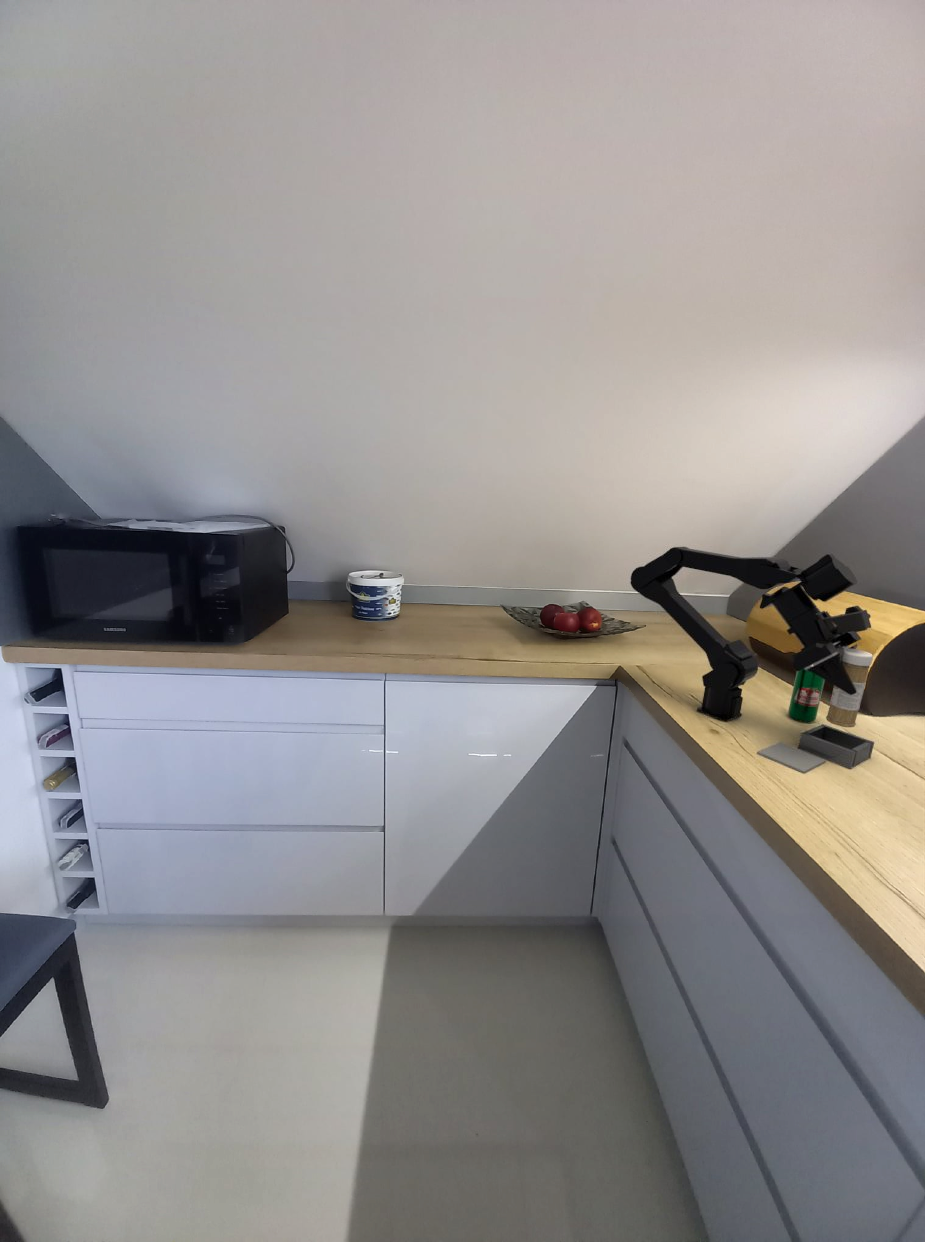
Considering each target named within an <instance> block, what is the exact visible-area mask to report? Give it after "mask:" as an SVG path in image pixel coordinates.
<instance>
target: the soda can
mask: <svg viewBox="0 0 925 1242" xmlns="http://www.w3.org/2000/svg"><path fill="white" fill-rule="evenodd" d="M813 666H814V665H813V664H812V665H810V666H808V667H806V668H804V669H802V670H800V671H797V670H796V674H795V679H794V683H793V687H792V693H791V695H790V696H791V698H790V702H789V706H788V711H787V715H788V716H789V717H790V718H791V719H793V720H794V721H797V722H800V723H807V724H808V723H813V722H815V721H816V720H817V717H818V712H819V707H820V704H821V703H820V701H821V698H822V693H823V690H824V685H825V681H826V680H825V679H823V678H821V677H819V676H818V675H816V674H814V673H812V672H808V671H807V669H809V668H811V667H813Z"/></svg>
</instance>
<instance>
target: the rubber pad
mask: <svg viewBox="0 0 925 1242" xmlns="http://www.w3.org/2000/svg"><path fill="white" fill-rule="evenodd" d="M756 754H757V755H759V756H761V757H764V758H767V759H769V760H771V761H773V762H776V763H778V764H780V765H783V766H785V767H787V768H791V769H792V770H794V771H797V772H799V773H802V774H806V773H807V772H810V771H813V769H816V768H818V767H820V766H821V765H823V764H825V763H827V760H826V759H823V758H821V757H818V756H816V755H813V754H811V753H808V752H806V751H803V750H801V749H798V747H794V746H791V745H789V744H787V743H784V742H781V741H779V742H777V743H774V744H771V745H769V746H767V747H765V748H762V749H760V750H758V751H757V752H756Z"/></svg>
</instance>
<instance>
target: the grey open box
mask: <svg viewBox="0 0 925 1242" xmlns="http://www.w3.org/2000/svg"><path fill="white" fill-rule="evenodd" d="M798 741H799V743H798V746H797V749H799V750H802V751H804V752H807V753H809V754H812V755H814V756H817V757H819V758H822V759H825V760H826V761H829V762H831V763H833V764H836V765H839V766H841V767H844V768H847V769H849V770H851V769H852V768H854V767H856V766H858V765H860V764H861V763H863V762H865V761H867V760H868V759H871V757H872V754H873V750H874V745H875V741H872V740H871V739H870V740H869V739H868V738H864V737H861V736H858V735H856V734H852V733H851V732H850V733H849V732H846V731H844V730H840V729H838V728H836V727H833V726H831V725H827V724H823V723H822V724H819V725H818V726H814V727H813V728H811V729H808V730H806V731H804V732H801V733H800V736H799V740H798Z"/></svg>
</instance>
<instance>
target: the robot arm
mask: <svg viewBox="0 0 925 1242" xmlns="http://www.w3.org/2000/svg"><path fill="white" fill-rule="evenodd" d="M682 568H688V569H692V570H697V571H703V572H708V573H712V574H718V575H723V576H729V577H731V578H734V579H737V580H738V581H740V582H741V583H743V584H745V585H749V586H751V587H754V588H756V589H759V590H768V589H773V588H778V587H781V588H779V589H777V590H775V591H774V592H773V593H768V592H767V593H764V594H761V602H760V604H759V609H760V610H761V609H762V610H763V609H766V608H770V607H771V606H772V607H774V608H775V610H776V612H777V613H778V614H779V615H780V617H781V618H782V620H783V621H784V623H785V624H786V625H787V626H788V629H787V630H786V632H787V633H788V634H789V635H790V636H791V635H794V636H795V637H796V639H797V640H798V641H799V643H800V644H801V646H802V648H801V649H800V651H798V652H797V653H794V654H792V656H791V660H790V661H791V664H792V666H793V667H794V668H795V670H796V672H797V671H800V670H802V669H804V668H806V667H808V666H810V665H812V664H813V665H814V666H813V667H811V668H809V669H807V671H808V672H812V673H814V674H816V675H818V676H819V677H821V678H823V679H825V681H826V682H828V683H830V684H831V685H833V686H834V685H835V686H836V687H838V688H840V689H841V690H843V691H845V692H846V693H848V694H850V695H853V694H855V693H856V692H857V691H856V689H855V687H854V685H853V683H852V681H851V679H850V677H849V675H848V673H847V672H846V670H845V668H844V666H843V664H842V660H843V655H844V651H843V652H842V650H843V649H857V648H858V643H857V642H859V641H860V640H862V637H861V636H860V635H859V634H858V633H859V632H865V631H867V630H868V629H871V628H872V624H871V621H870V618H871V617H872V616H871V614H870V613H868V610H867V609H862V607H860V606H859V605H852V606H849V607H847V608H845V612H844V613H843V614H838V615H833V616H832V615H830V613H829V612H828V611H825V610H822V611H821V610H820V609H819V608H818V606H817V604H816V603H814V601H815V602H816V601H818V600H820V601H822V602H824V603H827V602H828V601H830V600H832V599H833V598H835V597H836V596H838V595H840V594H842V593H844V592H845V591H847V590H849V589H851V588H852V587H854V586H856V585H857V584H858V580H857V577H856V576H855V574H854V573H853V571H852V569H850V567H849V566H846V565H845V564H844V563H843V562H842V561H840V559H838V558H836V557H835V555H834V554H832V553H826V554H825V555H823V557H821V558H820V559H819V560H818V561H817V562H815V563H813V564H812V565H810V566H808V567H807V568H805V569H803V568H799V567H797V566H793V565H791V564H790V563H789V561H788V560H787V559H785V558H783V557H779V556H771V557H770V556H761V557H760V556H757V557H755V556H753V557H740V556H734V555H728V554H721V553H716V552H710V551H704V550H699V549H693V548H689V547H687V546H674V547H671V548H669V550H667V551H666V552H665V553H663V554H662V555H659V556H658V557H656V558H654V559H653V560H651V561H649V562H647V563H646V564H645V565H644V566H643V565H642V566H638V567H636V568H634V570H633V571H632V573H631V575H630V582H629V583H630V585H631V587H632V589H633V590H634V591H635V592H637V593H638V594H639V595H641V596H643V597H644V598H645V599H646V600H649V601H651V602H653V603H656V604H657V605H659V606H660V607H661V608H662V609H663V610H664V611H665V612H666V613H667V614H668V615H669V616H670V617H671V618H672V619H673V620H674V621H675V622H676V624H678V626H680V628H681V629H682V630H683V631H684V632H685V633H686V634H687V635H688V636H689V637H690V638H691V639H692V640H693V641H694V642H695V643H696V644H697V645H698V646H699V648H700V649H701V650H703V652H704V653H705V655H706V658H707V659H708V663H709V666H710V668H711V669H712V670H710V671H709V672H707V673H705V674H703V675H701V678H702V683H703V686H704V692H703V697H702V701H701V706H700V707H697V708H696V711H698V712H700V713H702V714H704V715H708V716H710V717H712V718H715V719H718V720H719V721H722V722H727V721H730V720H731V721H732V720H733V719H736V718H739V717H742V714H743V713H741V710H742V705H743V699H744V698H743V696H742V692H743V688H741V686H744V685H745V684H746V682H747V681H749V680H750V679H753V678H754V677H755V676H756V675H757V673H758V670H759V662H758V659H757V658H756V657H755V656H754V655H755V654H756V652H754V651H752V650H750V649H749V648H748V646H747V645H746V644H745V643H744V641H743V640H742V639H736V640H733V641H730V640H728V639H726V638H725V637H723V635H722V634H721V633H719V631H718V630H716V628H714V626H713V625H712V624H711V623H710V622H709V621H707V620H706V618H704V616H702V614H701V613H700V612H698V610H697V609H696V608H695V607H694V606H692V605H691V603H690V602H689V601H688V600H686V598H685V597H684V596H682V594H680V592H679V591H678V590H677V587H676V584H675V581H674V578H673V577H674V576H676V575H677V574H678V573H679V572H680V571H681V570H682ZM799 581H800V582H799ZM795 582H798V583H797V584H795V585H793V586H792V587H790V588H789V587H788V586H784V585H786V584H790V583H791V584H792V583H795ZM855 643H856V644H855ZM853 644H854V645H853Z"/></svg>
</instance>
